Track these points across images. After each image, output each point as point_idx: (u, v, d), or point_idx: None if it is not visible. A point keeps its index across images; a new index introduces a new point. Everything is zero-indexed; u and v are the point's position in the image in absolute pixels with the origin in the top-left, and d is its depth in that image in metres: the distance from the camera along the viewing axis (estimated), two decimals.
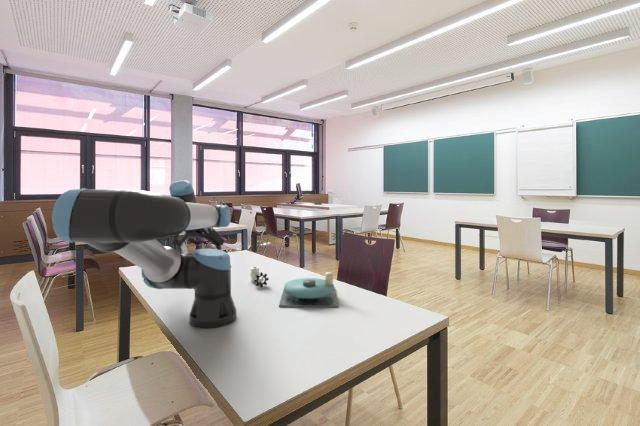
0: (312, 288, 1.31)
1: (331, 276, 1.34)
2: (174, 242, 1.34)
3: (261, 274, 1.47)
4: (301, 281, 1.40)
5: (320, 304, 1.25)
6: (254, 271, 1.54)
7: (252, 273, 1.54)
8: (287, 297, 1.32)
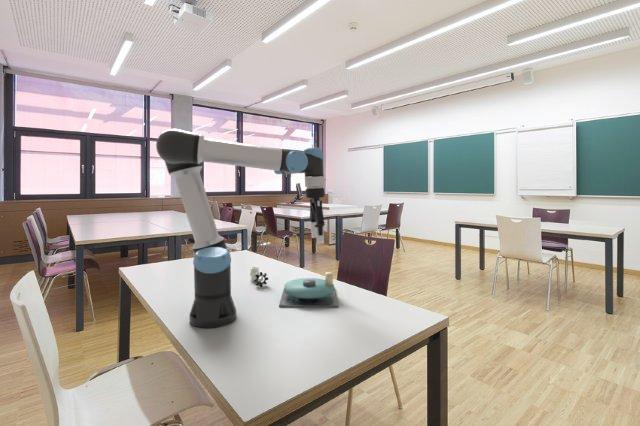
0: (312, 288, 1.31)
1: (331, 276, 1.34)
2: (310, 216, 1.42)
3: (261, 274, 1.48)
4: (301, 281, 1.40)
5: (320, 304, 1.25)
6: (254, 271, 1.55)
7: (252, 273, 1.55)
8: (287, 297, 1.32)
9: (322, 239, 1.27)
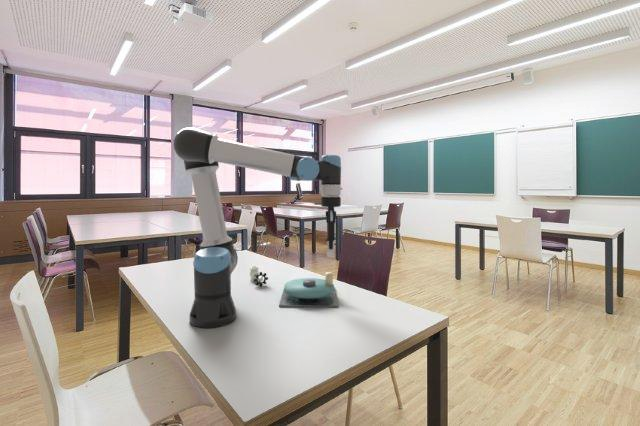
0: (312, 288, 1.31)
1: (331, 276, 1.34)
2: None
3: (260, 273, 1.48)
4: (301, 281, 1.40)
5: (320, 304, 1.25)
6: (253, 270, 1.55)
7: (251, 272, 1.55)
8: (287, 297, 1.32)
9: (332, 253, 1.28)
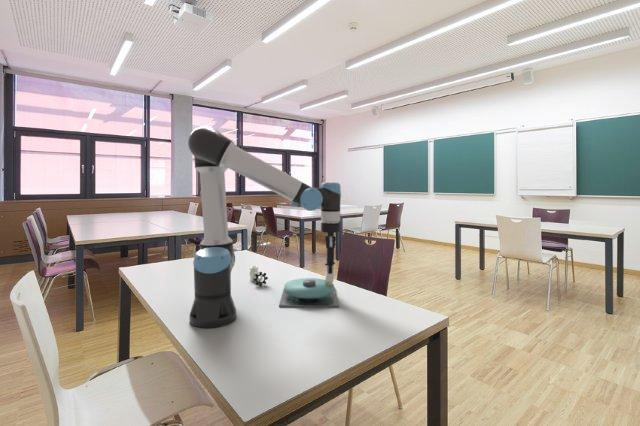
0: (312, 288, 1.31)
1: None
2: None
3: (260, 273, 1.49)
4: (301, 281, 1.40)
5: (320, 304, 1.25)
6: (253, 270, 1.56)
7: (251, 272, 1.56)
8: (287, 297, 1.32)
9: (331, 277, 1.32)
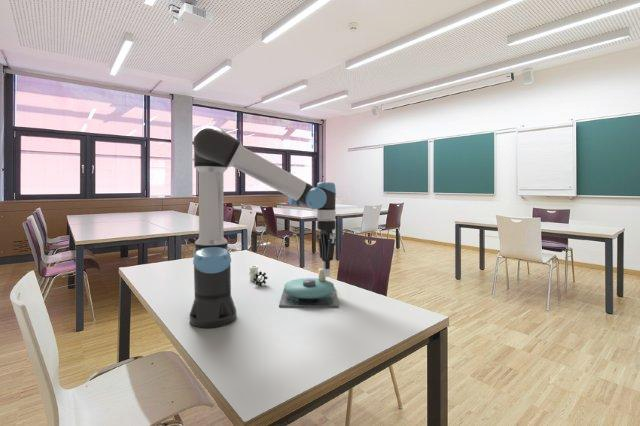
0: (319, 286, 1.33)
1: None
2: (320, 254, 1.41)
3: (260, 273, 1.49)
4: (294, 284, 1.35)
5: (320, 304, 1.25)
6: (253, 270, 1.56)
7: (251, 272, 1.56)
8: (287, 297, 1.32)
9: (328, 272, 1.39)
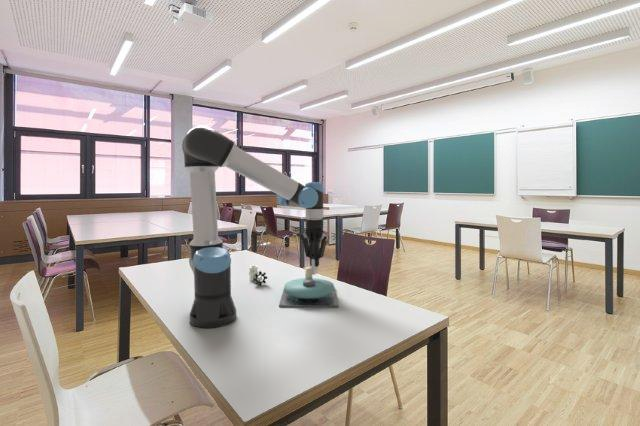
0: (319, 284, 1.36)
1: None
2: (306, 253, 1.42)
3: (260, 273, 1.49)
4: (296, 287, 1.31)
5: (320, 304, 1.25)
6: (253, 270, 1.56)
7: (251, 272, 1.56)
8: (287, 297, 1.32)
9: (316, 269, 1.43)
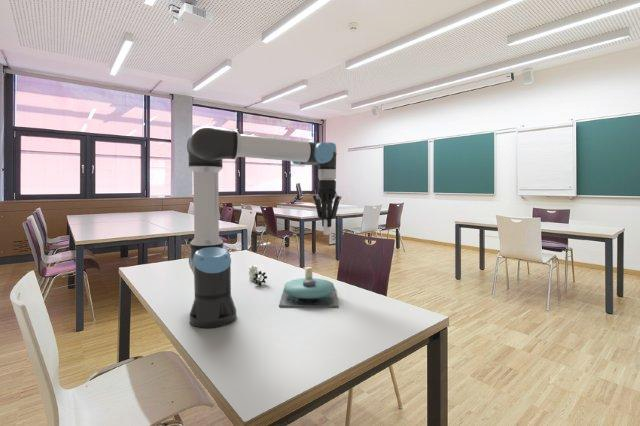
0: (319, 284, 1.36)
1: None
2: (318, 214, 1.44)
3: (260, 272, 1.50)
4: (296, 287, 1.31)
5: (320, 304, 1.25)
6: (252, 270, 1.57)
7: (250, 272, 1.57)
8: (287, 297, 1.32)
9: (328, 230, 1.44)
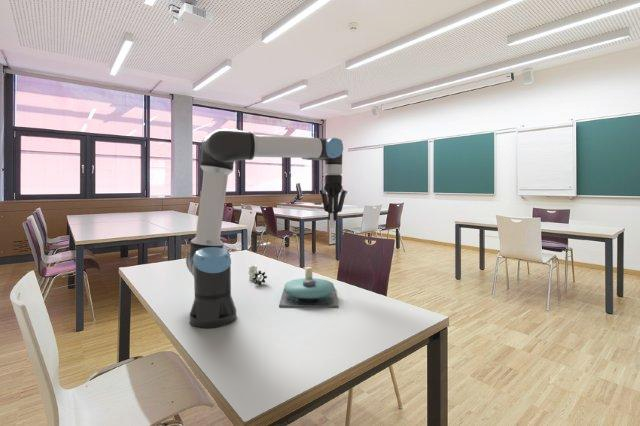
0: (319, 284, 1.36)
1: None
2: (325, 207, 1.49)
3: (259, 272, 1.50)
4: (296, 287, 1.31)
5: (320, 304, 1.25)
6: (252, 269, 1.57)
7: (250, 271, 1.57)
8: (287, 297, 1.32)
9: (335, 224, 1.49)
